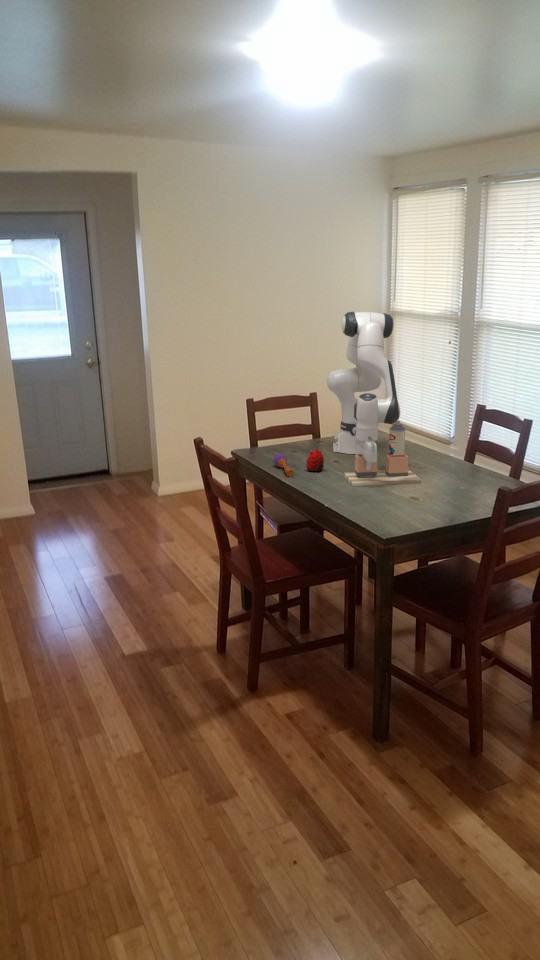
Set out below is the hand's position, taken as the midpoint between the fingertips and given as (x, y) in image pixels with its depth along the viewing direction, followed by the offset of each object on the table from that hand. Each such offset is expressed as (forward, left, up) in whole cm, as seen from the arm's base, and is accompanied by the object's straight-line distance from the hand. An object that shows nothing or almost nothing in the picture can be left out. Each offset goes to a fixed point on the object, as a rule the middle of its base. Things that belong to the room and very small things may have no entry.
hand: (366, 467), depth 301 cm
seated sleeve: (0, +13, -4) cm, 14 cm away
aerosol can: (-19, +18, -5) cm, 27 cm away
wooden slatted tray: (0, +6, -5) cm, 8 cm away
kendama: (-20, -31, -6) cm, 37 cm away
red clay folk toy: (-18, -18, -5) cm, 26 cm away
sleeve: (0, 0, -3) cm, 3 cm away
